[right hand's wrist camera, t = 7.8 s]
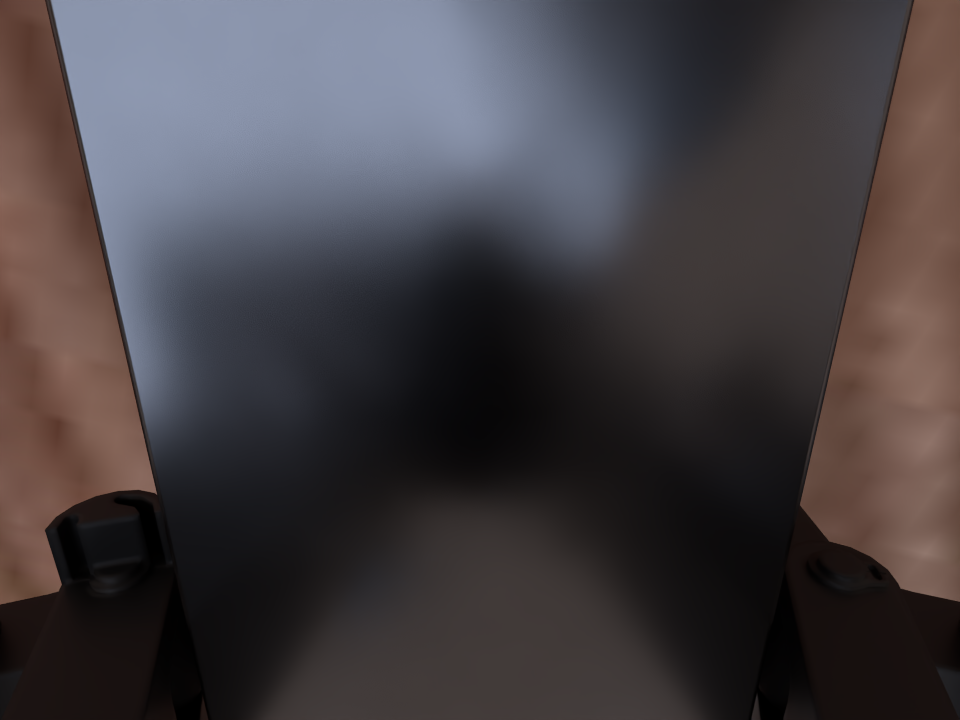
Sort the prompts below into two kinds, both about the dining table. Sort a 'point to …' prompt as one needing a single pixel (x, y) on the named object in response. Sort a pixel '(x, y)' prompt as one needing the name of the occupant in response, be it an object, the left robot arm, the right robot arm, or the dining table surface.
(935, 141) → the dining table surface
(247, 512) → the bar
